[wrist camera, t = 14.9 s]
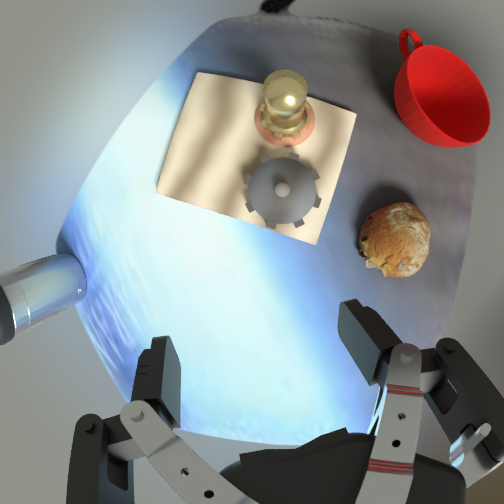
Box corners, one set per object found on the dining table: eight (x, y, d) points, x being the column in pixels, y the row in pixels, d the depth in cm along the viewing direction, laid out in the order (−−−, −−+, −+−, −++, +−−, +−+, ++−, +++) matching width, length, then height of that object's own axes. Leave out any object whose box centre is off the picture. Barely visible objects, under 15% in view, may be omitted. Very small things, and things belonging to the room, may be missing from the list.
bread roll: (402, 264, 38) (443, 273, 30) (354, 282, 35) (397, 295, 27) (397, 200, 36) (440, 198, 28) (347, 207, 33) (392, 205, 25)
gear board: (160, 193, 36) (143, 192, 31) (200, 76, 32) (189, 61, 27) (314, 243, 35) (319, 250, 30) (353, 117, 31) (363, 105, 26)
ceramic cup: (418, 50, 27) (445, 21, 17) (463, 146, 29) (503, 136, 20) (352, 58, 29) (369, 21, 20) (400, 164, 32) (436, 154, 22)
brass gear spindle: (254, 133, 32) (242, 107, 22) (269, 91, 30) (263, 54, 21) (302, 147, 31) (309, 126, 22) (315, 105, 30) (326, 71, 20)
